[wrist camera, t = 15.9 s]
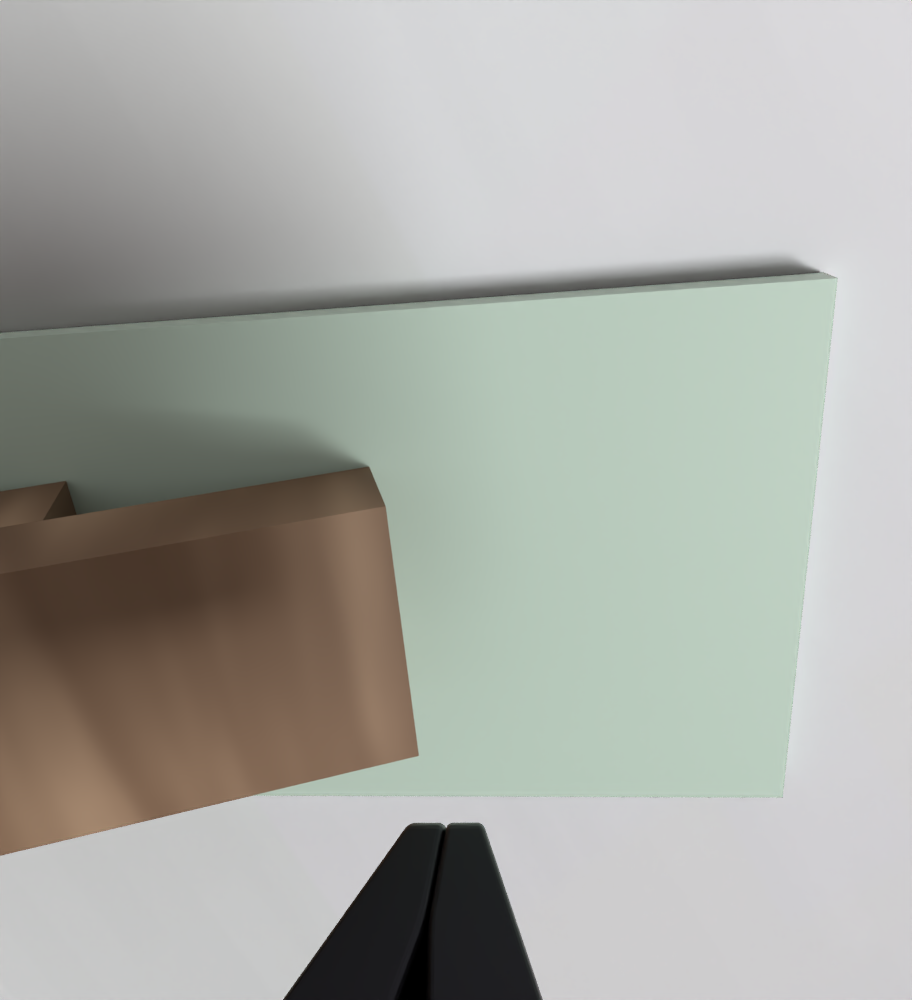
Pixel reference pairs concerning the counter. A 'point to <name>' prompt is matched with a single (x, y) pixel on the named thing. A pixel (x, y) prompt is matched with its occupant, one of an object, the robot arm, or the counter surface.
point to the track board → (505, 505)
